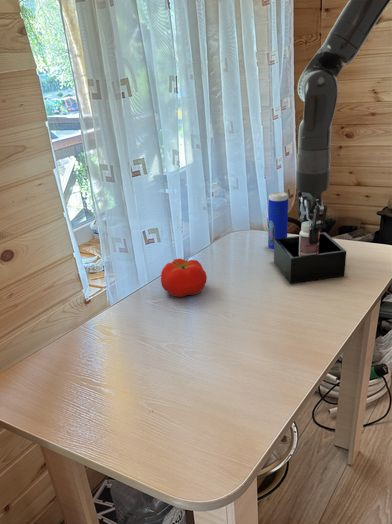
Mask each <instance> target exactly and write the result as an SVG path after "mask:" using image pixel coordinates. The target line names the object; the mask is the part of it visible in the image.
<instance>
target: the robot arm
mask: <svg viewBox="0 0 392 524" xmlns="http://www.w3.org/2000/svg"><path fill="white" fill-rule="evenodd" d="M390 2H391V0H348V2H347V3H346V5H345V6H344V7H343V9H342V10H341V12H340V14H339V16H338V17H337V19H336V21H335V23H334V25H333V26H332V27H331V30H330V31H329V33H328V35H327V37H326V38H325V41H324V42H323V44H322V45H321V47H320V48H319V49H318V50H317V52H316V53H315V54H314V56H312V58H311V60H310V61H309V62H308V64H307V65H306V66H305V68H304V70H303V71H302V73H301V75H300V77H299V78H298V83H297V94H298V96H299V98H300V100H301V101H303V115H302V120H301V122H300V123H299V127H298V136H297V137H298V138H297V140H298V141H297V155H296V163H295V164H296V165H295V189H296V191H297V192H296V199H297V200H296V202H297V216H298V217H299V220H300V222H301V223H300V224H301V225H302V223H303V222H306V221H309V244H317V243H318V240H319V233H320V230H322V229H324V228H325V222H326V217H327V211H328V205H327V204H323V203H324V202H323V197H322V194H323V193H324V192H325V191H328V190H329V187H330V177H331V176H330V174H331V163H332V162H331V160H332V156H331V155H332V154H331V142H332V124H333V121H334V117H335V113H336V108H337V103H338V96H339V83H338V79H337V77H338V76H339V75H340V73H341V72H342V70H343V69H344V68H345V67H346V66H348V65H349V64H351V63H352V62H353V61H354V60H355V58H356V57H357V55H358V53H359V52H360V50H362V48H363V45H364V44H365V43H366V41H367V40H368V38H369V36H370V34H371V32H372V31H373V29H374V27H375V26H376V24H377V23H378V21H379V19H380V18H381V16H382V15H383V13H384V11H385V10H386V8H387V7H388V5H389V4H390ZM312 221H313V222H312ZM316 223H317V224H316Z"/></svg>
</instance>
